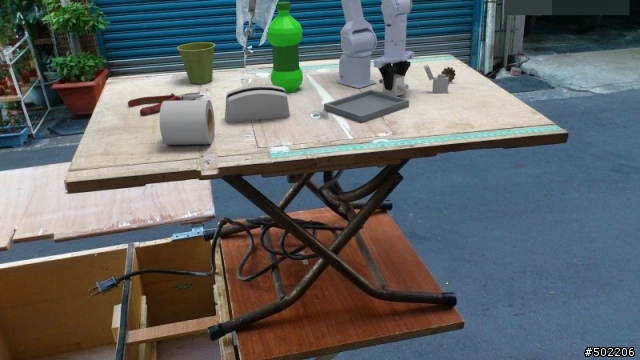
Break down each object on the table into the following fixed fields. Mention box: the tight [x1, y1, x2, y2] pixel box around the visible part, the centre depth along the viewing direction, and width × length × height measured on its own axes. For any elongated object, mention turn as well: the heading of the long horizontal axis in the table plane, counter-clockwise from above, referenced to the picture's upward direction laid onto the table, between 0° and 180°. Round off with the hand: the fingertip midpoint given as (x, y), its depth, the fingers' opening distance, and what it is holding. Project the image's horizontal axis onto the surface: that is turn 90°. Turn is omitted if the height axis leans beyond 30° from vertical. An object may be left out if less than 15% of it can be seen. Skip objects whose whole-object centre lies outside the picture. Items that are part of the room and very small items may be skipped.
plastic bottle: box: [266, 0, 304, 93], centre depth 155 cm, size 10×10×25 cm
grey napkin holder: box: [224, 84, 291, 123], centre depth 137 cm, size 17×5×10 cm, turn 101°
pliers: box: [127, 91, 205, 117], centre depth 151 cm, size 12×20×3 cm, turn 127°
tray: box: [323, 89, 410, 124], centre depth 143 cm, size 14×18×2 cm
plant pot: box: [176, 41, 216, 85], centre depth 168 cm, size 12×12×11 cm
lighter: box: [423, 64, 449, 94], centre depth 153 cm, size 7×2×8 cm, turn 85°
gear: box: [440, 66, 457, 84], centre depth 161 cm, size 5×1×5 cm, turn 108°
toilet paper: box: [159, 99, 216, 146], centre depth 122 cm, size 10×10×10 cm
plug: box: [379, 74, 409, 97], centre depth 152 cm, size 9×4×5 cm, turn 41°
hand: (393, 88), depth 153 cm, fingers closed on plug, 3 cm apart
